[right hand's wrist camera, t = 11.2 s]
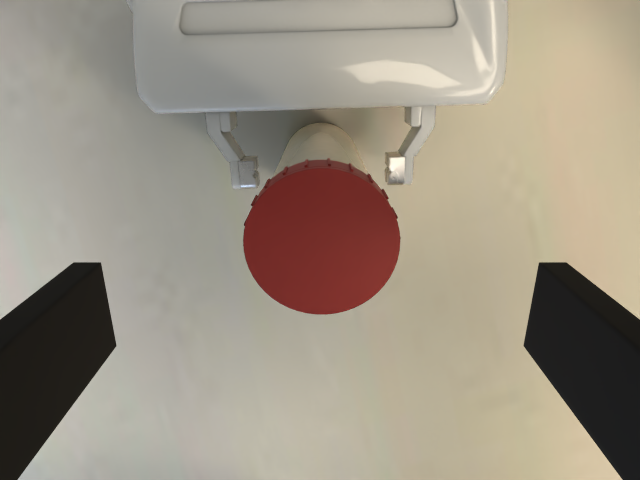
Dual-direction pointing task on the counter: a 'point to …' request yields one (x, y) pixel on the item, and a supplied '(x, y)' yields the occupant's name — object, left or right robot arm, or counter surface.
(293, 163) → the jar
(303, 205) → the lid
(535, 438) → the counter surface
